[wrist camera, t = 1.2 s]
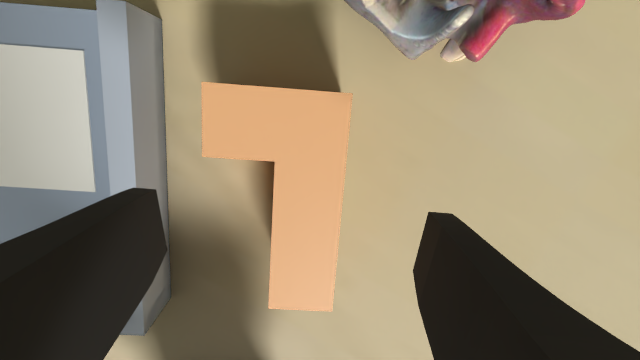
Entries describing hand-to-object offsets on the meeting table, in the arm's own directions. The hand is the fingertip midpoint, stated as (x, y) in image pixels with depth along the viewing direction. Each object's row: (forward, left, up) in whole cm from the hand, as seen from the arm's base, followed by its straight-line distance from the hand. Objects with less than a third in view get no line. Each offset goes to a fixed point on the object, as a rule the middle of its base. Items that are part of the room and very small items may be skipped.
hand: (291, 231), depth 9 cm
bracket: (-1, +1, -10) cm, 11 cm away
